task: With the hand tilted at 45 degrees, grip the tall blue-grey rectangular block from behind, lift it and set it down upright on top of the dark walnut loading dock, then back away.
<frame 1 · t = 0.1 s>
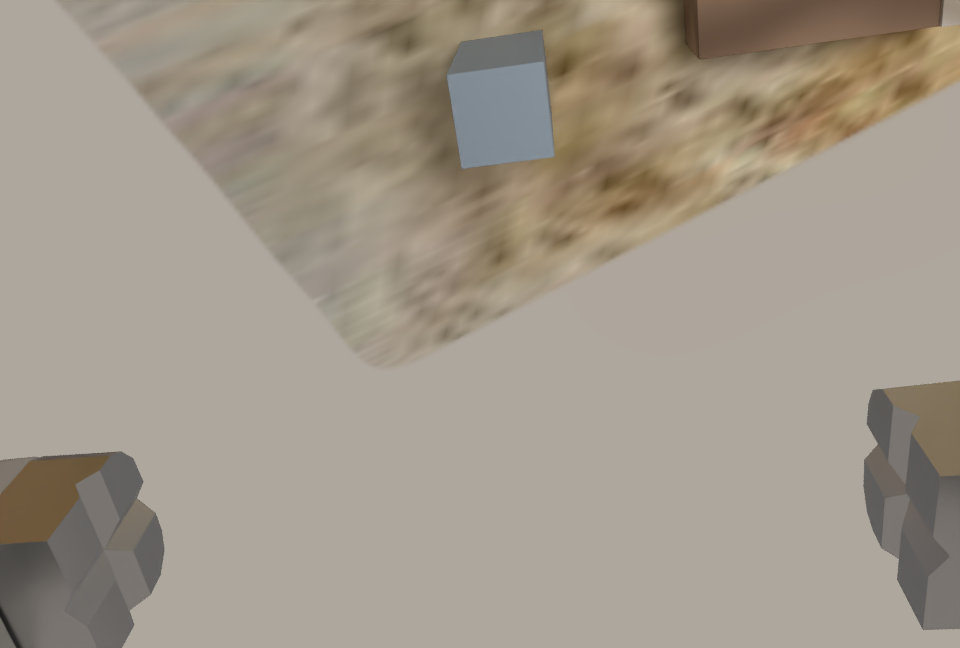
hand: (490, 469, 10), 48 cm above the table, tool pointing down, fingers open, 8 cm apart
blue-grey rectangular block: (507, 77, 55), on the table
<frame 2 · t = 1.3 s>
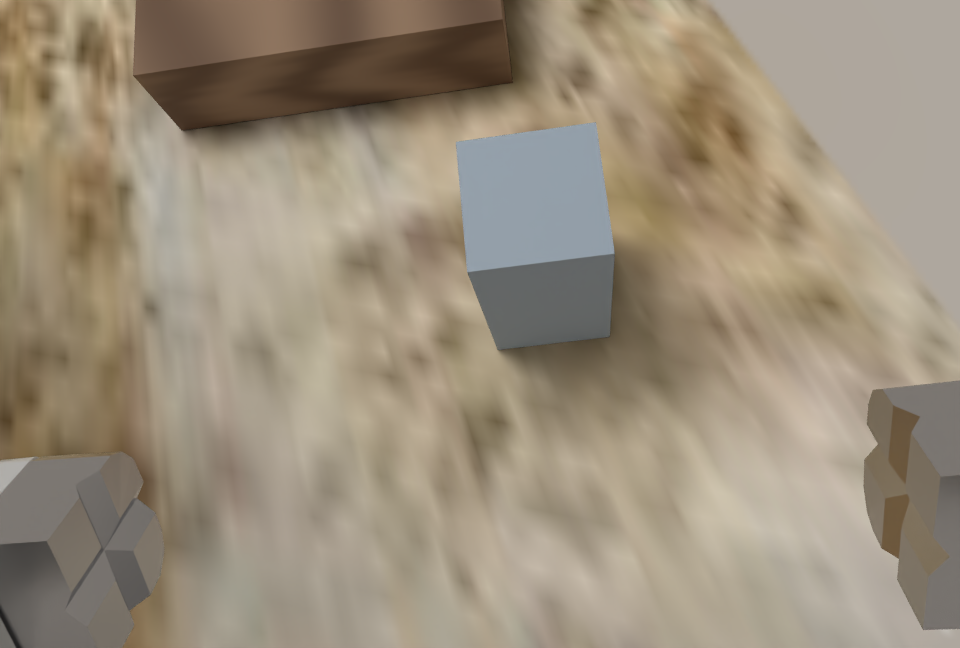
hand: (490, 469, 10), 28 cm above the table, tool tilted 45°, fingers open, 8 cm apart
blue-grey rectangular block: (547, 290, 40), on the table
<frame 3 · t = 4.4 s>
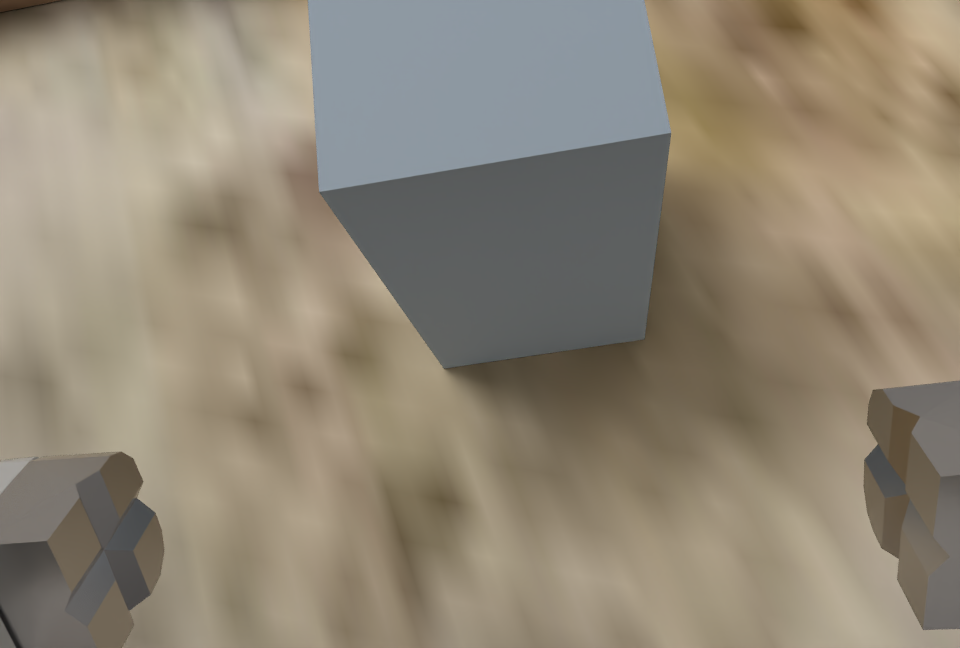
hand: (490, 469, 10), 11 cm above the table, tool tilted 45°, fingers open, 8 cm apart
blue-grey rectangular block: (530, 261, 23), on the table
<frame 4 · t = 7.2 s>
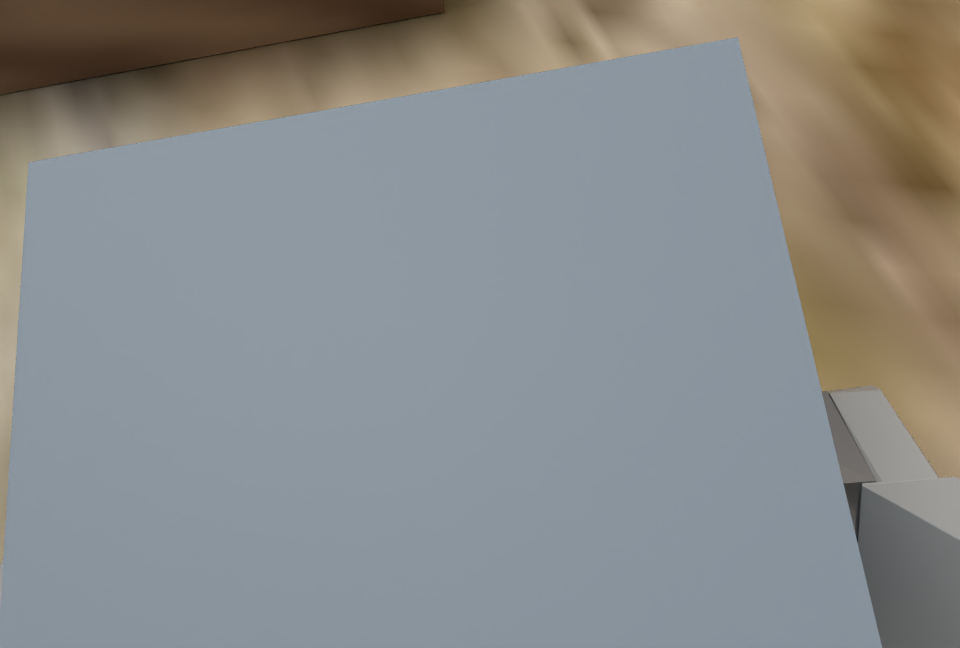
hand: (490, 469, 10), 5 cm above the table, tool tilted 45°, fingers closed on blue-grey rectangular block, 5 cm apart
blue-grey rectangular block: (535, 555, 15), on the table, touching gripper
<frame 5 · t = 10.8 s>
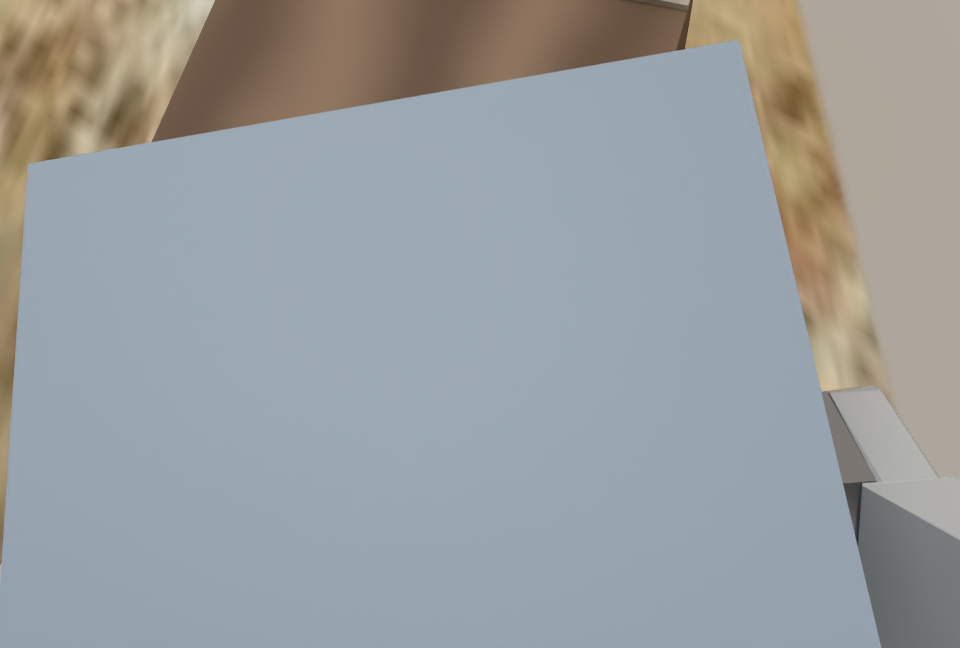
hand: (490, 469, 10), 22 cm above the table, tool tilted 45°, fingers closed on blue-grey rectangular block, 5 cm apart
dock: (430, 167, 35), on the table
blue-grey rectangular block: (535, 556, 15), point 16 cm above the table, touching gripper
when the fingers open (12 cm above the table, at t = 14.6 s): blue-grey rectangular block drops 1 cm, resting on dock.
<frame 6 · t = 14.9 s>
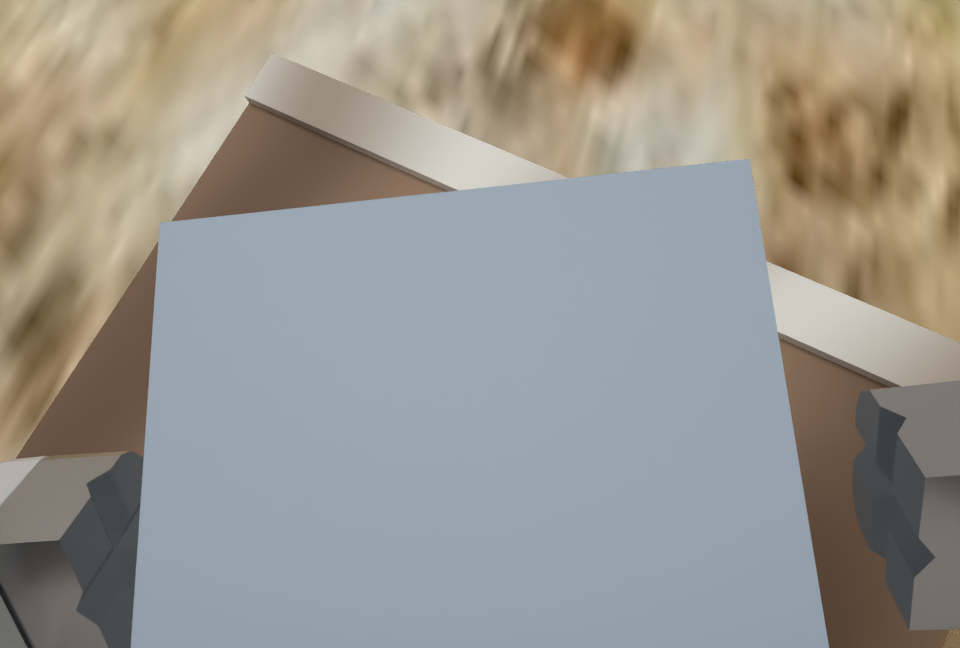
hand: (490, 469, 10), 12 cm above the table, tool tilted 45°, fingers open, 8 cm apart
dock: (485, 528, 21), on the table
blue-grey rectangular block: (544, 559, 16), point 5 cm above the table, touching dock
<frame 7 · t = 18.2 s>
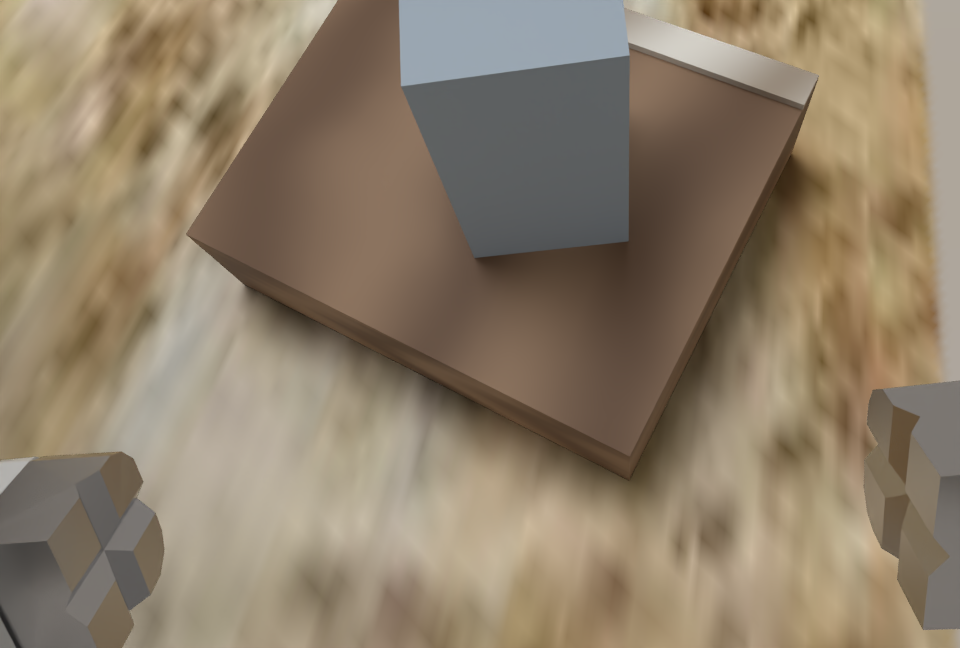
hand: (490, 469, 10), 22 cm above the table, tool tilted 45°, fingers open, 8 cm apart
dock: (510, 220, 35), on the table
blue-grey rectangular block: (544, 180, 29), point 5 cm above the table, touching dock
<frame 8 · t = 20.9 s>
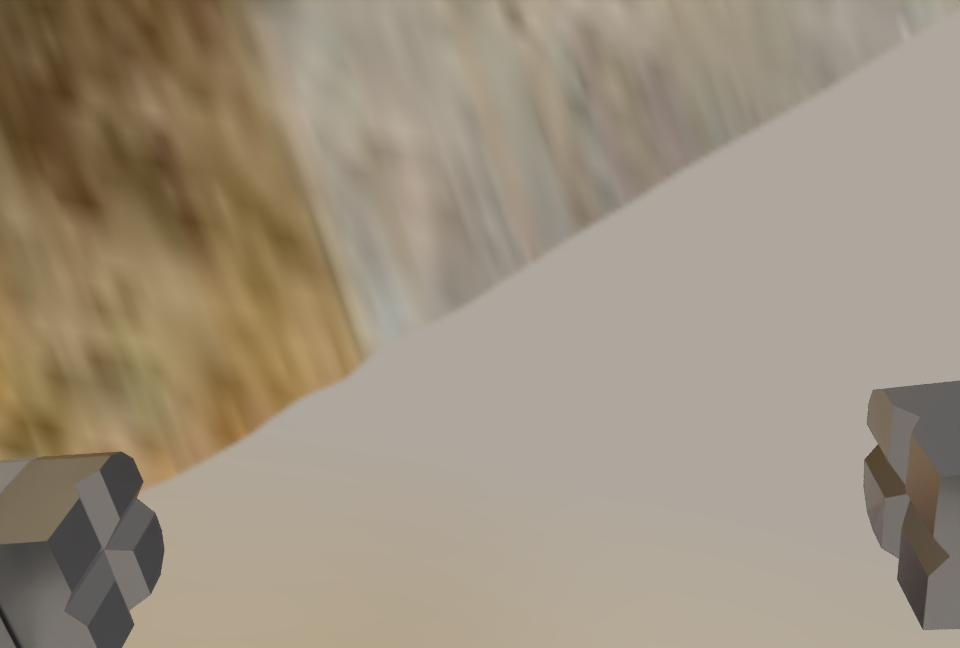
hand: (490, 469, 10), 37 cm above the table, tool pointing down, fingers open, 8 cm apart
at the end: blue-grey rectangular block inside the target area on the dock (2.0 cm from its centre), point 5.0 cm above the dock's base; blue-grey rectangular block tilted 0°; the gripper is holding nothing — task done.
